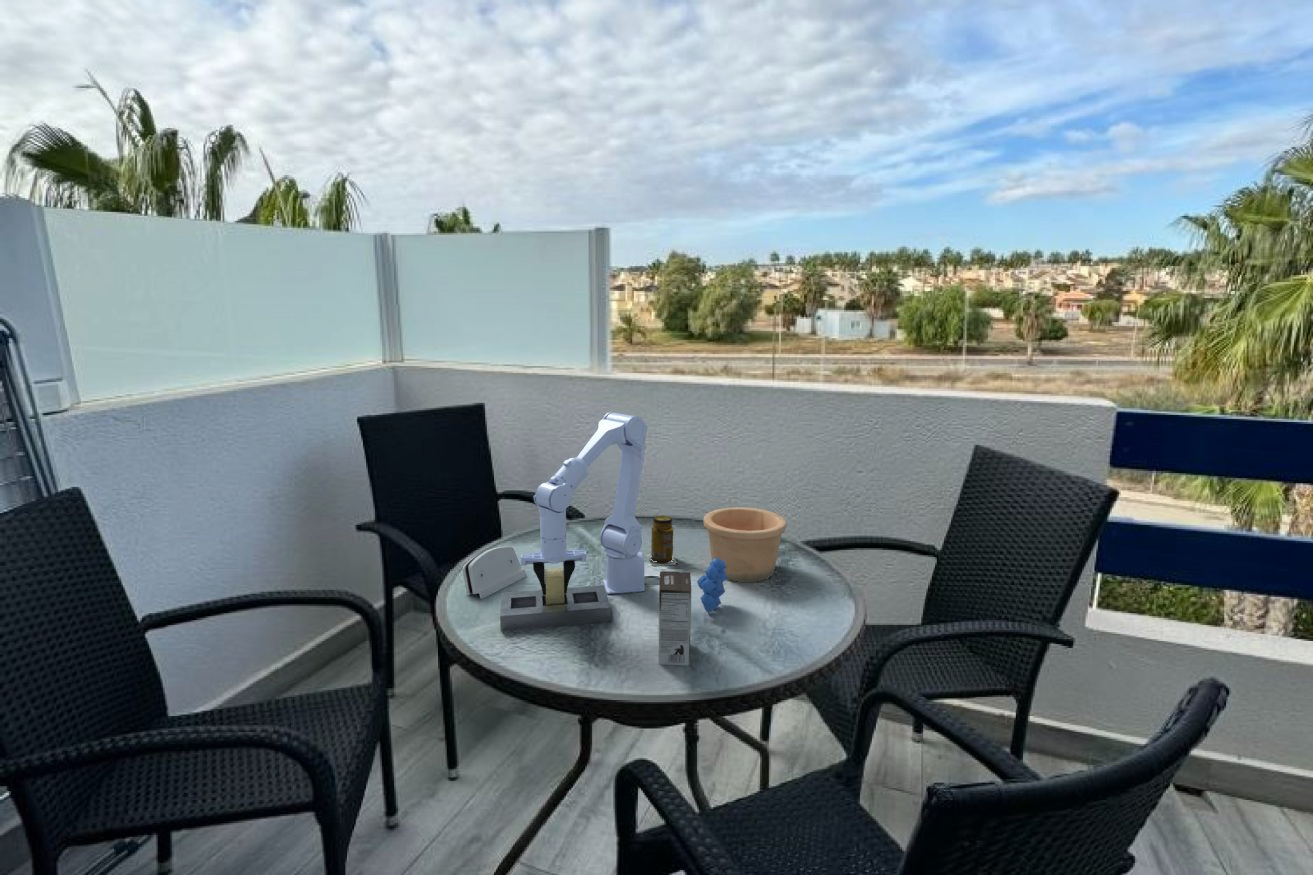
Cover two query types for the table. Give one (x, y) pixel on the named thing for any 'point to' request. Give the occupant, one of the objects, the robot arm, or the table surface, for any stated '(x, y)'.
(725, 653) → the table surface
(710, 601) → the grapes
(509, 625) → the grey block holder
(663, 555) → the condiment
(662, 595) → the coffee box
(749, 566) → the pottery
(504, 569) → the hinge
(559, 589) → the brass block
